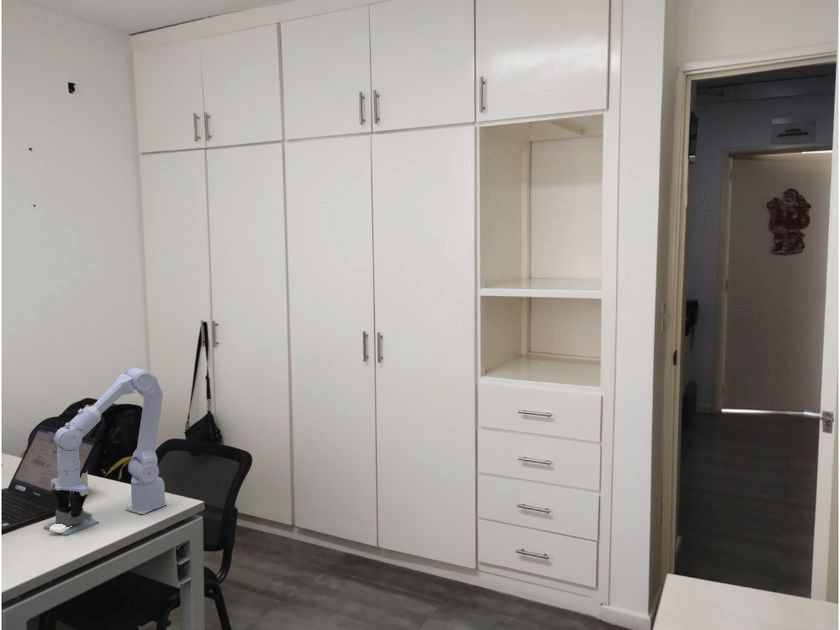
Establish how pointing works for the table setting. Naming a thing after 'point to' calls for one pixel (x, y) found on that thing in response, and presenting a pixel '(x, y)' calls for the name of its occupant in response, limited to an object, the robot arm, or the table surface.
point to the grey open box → (68, 517)
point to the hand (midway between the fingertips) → (70, 514)
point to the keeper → (77, 527)
